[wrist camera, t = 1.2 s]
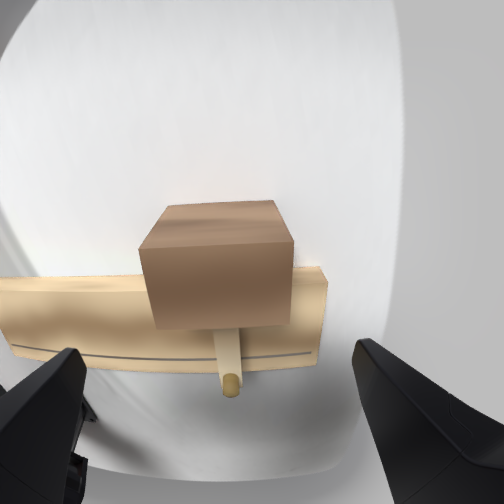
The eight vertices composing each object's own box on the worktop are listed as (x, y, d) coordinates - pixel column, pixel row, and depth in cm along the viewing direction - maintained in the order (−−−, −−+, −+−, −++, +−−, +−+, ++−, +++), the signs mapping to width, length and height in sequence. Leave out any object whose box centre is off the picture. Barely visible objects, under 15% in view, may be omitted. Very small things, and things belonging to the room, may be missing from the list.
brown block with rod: (271, 346, 21) (282, 411, 16) (191, 350, 21) (183, 414, 16) (273, 200, 17) (294, 241, 11) (168, 205, 16) (138, 248, 11)
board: (310, 346, 22) (315, 365, 20) (23, 342, 20) (14, 355, 18) (319, 266, 19) (328, 282, 17) (-5, 277, 17) (-18, 289, 15)
